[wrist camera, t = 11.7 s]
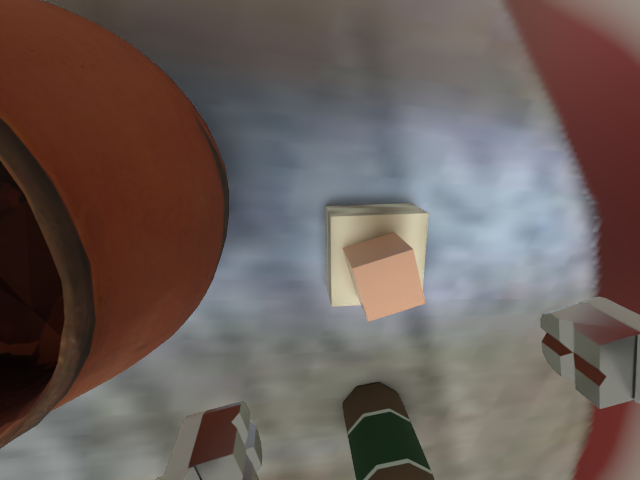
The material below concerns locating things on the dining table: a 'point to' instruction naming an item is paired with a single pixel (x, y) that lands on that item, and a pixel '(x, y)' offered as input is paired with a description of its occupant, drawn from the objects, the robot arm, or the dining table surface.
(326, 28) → the dining table surface
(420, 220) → the birch block
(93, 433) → the dining table surface
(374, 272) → the terracotta cube
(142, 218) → the goblet
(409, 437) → the beer bottle
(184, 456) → the robot arm
